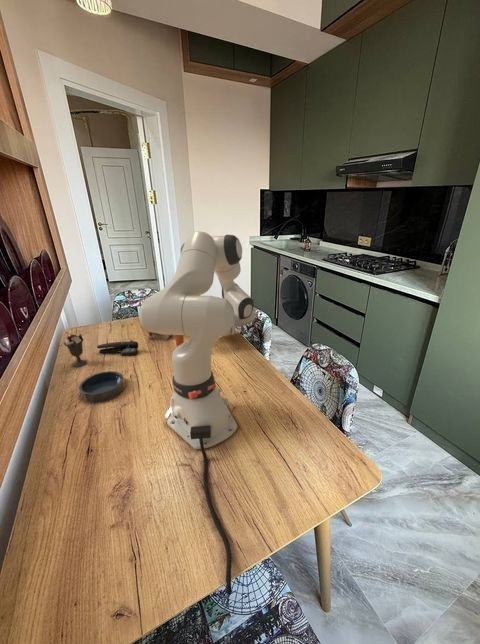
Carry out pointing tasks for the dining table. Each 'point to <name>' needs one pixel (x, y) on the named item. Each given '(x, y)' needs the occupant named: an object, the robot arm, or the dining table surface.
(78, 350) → the sundae
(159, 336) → the coffee box
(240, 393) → the dining table surface
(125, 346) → the can opener
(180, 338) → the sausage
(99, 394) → the dish
